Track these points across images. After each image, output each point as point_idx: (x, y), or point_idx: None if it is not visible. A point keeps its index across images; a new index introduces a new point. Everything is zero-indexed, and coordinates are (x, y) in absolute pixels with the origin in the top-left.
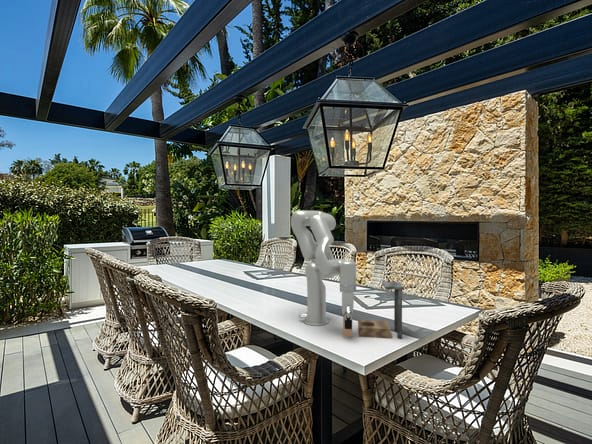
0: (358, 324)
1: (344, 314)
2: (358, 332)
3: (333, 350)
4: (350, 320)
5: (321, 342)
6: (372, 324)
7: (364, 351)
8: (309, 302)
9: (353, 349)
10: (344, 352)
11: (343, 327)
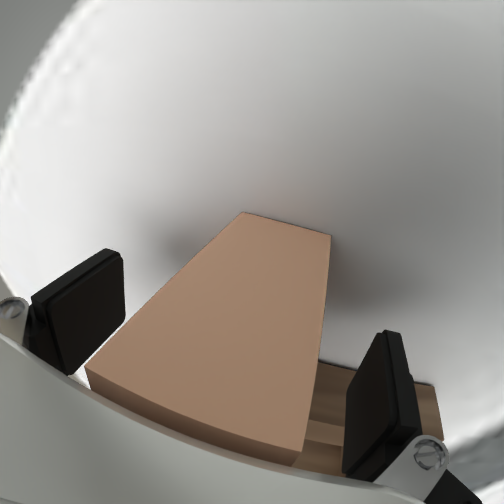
0: (324, 419)
1: (93, 386)
2: (325, 365)
3: (26, 113)
4: (52, 357)
5: (121, 16)
6: (342, 473)
7: (42, 275)
8: None
9: (45, 228)
10: (16, 173)
11: (204, 249)
